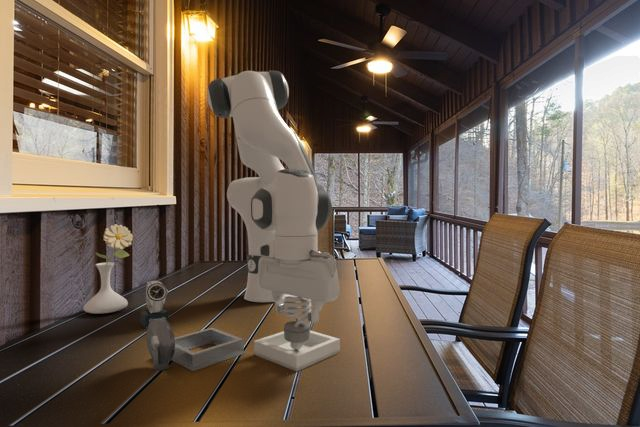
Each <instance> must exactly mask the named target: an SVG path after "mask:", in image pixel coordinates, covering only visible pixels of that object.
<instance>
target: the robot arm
mask: <svg viewBox="0 0 640 427" xmlns="http://www.w3.org/2000/svg"><path fill="white" fill-rule="evenodd" d="M289 93H290V89H289V84H288V81H287V80H286V78H285V75H284V74H283V73H282V72H281V71H280V70H279V71H278V70H270V69H269V70H268V71H254V70H245V71H242V72H239V73H238V74H236V75H230V76H226V77H224V78H222V77H219V78H216V79H213V80H212V81H210V83H209V84H208V88H207V93H206V99H207V103H208V105H209V106H208V107H209V108H210V109H211V111H212V112H213V114H214V115H215V116H216V117H218V118H222V119H229V118H232V120H233V126H234V132H235V137H236V143H237V144H236V145H237V148H238V153H239V158H240V161H241V162H242V164H243V165H244V166H246V167H247V168H249V169H251V170H253V171H254V173H256V174H257V175H258V176H256V177H255V176H253V177H252V176H251V177H250V176H249V177H244V178H243V177H241V178H238V179H234V180H232V181H231V182H230V183H229V185H228V187H227V191H226V198H227V201H228V203H229V205H230V207H231V208H232V209H234V210H235V211H236V212H237V213H238V214H239V215H240V217H241V219H242V220H243V222H244V224H245V228H246V231H247V233H246V234H247V244H248V254H247V256H246V257H247V258H246V259H247V260H246V262H247V266H246V267H247V271H248V272H247V274H248V275H247V282H246V288H245V293H244V296H243V299H244V300H246V301H247V302H248V301H249V302H252V303H253V302H254V303H274V305H275V312H276V313H277V314H285V313H286V312H284V308H286V307H285V306H284V303H285V302H288V301H285V297H289V296H292V297H302V298H304V299H311V306H312V308H311V312H308V320H307V321H308V322H311V323H317V322H319V320H320V312H321V311H322V309H323V307H324V304H325V303H331V302H333V301H336V300H337V299H338V297H339V295H340V284H339V276H338V270H337V261H336V259H335V258H334V256H333V255H331V253H330V252H328V251H327V252H326V251H325V252H324V251H323V252H322V251H318V250H319V247H318V246H319V245H318V244H319V239H318V237H319V234H318V233H319V232H318V231H320V230H321V229H322V228H324V227H325V226H326V225H327V223H329V222H328V221H329V220H330V219H331V216H332V214H333V204H332V201H331V198H330V196H329V194H328V192H327V191H326V190H325V188H324V187H323V185H322V184H321V182H320V180H319V178H318V175H317V172H316V171H315V168H314V166H313V165H312V162H311V160H310V158H309V155H308V154H307V151H306V149H305V147H304V144H303V142H302V141H301V138H300V137H299V135H298V134H297V133H296V132H295V131H294V130H293V129H291V128H290V127H289V126H288V124H287V123H286V122H285V120H284V119H283V118H282V116H281V114H280V112H279V110H281V109H282V108H284V107H285V106H286V104H287V103H288V102H289V101H288V100H289V95H290V94H289ZM280 160H281V161H282V162H283V163H284V164H285V165H286V166H287V167H288V168H287V169H286V168H285V167H284V166H283V164H282V163H281V161H280Z"/></svg>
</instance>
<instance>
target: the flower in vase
mask: <svg viewBox="0 0 640 427" xmlns="http://www.w3.org/2000/svg"><path fill="white" fill-rule="evenodd" d="M133 237H134V236H133V233H131V230H129V228H128V227H126V226H123V225H122V224H119V225H118V224H117V223H116V224H114V225H113V224H112V225H110V227H106V228H105V230H104V233H103V239H102V240H103V241H104V242H105V244H106V245H107V246H108V247H109V248H113V251H112V253H111V255H110V256H107V255H106V254H105V255H104V254H101V253H99V252H96V251H95V254H96V256H98V257H99V258H102V259H107V261H106V262H99V263H95V267H96V268H97V269H98V272H99V275H100V283H101V284H100V289H99V291H98V292H97V293H96V294H94V296H92V297H91V298H90V299H89V300H88V301H87V302H86V303H85V304H84V305H83V308H82V309H83V311H84V312H86V313H87V314H88V313H89V314H95V315H96V314H97V315H98V314H102V315H103V314H110V313H115V312H117V311H121V310H124V309H125V308H127V306H128V305H129V302H128V300H127V299H126V298H125V297H123V296H122V295H120V294H119V293H117V292H115V291H114V290H113V289H112V287H111V272H112V269H113V267H114V266H115V262H111V261H110V260H111V259H112V257H113V256H115V257H116V258H118V259H123V258H126V257H129V256H130V254H129V253H128V252H127V251H125V250H124V249H125V248H127V247H130V246H132V241H133ZM116 249H117V251H116Z"/></svg>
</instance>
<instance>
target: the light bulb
mask: <svg viewBox="0 0 640 427" xmlns="http://www.w3.org/2000/svg"><path fill="white" fill-rule="evenodd" d="M285 301H287V302H284V306H285V307H286V308H284V312H285V313H283V315H284V318H286V319H290V320H291V319H292V320H291V321H287V322H285V324H284V326H283V331H284V337H285V340H287V341H289V342H290V343H291V344H290V346H291V348H293V349H294V350H299V349H301V348H302V347H303V342H305V341H307V340H308V339H309V335H310V330H311V325H310V324H309V322H307V321H308V312H311V311H312V308H311V307H312V304H311V299H306V298H302V297H292V296H289V297H285ZM298 313H299V314H298ZM293 319H295V320H293Z"/></svg>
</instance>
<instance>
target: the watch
mask: <svg viewBox="0 0 640 427" xmlns="http://www.w3.org/2000/svg"><path fill="white" fill-rule="evenodd" d="M168 294H169V290H168V289H167V287H166V286H165V285H164V284H163V283H162V281H159V280H150V281H147V282H146V286H145V303H146V307H147V309H148V310H146V311H145V310H144V311H141V312H140V325H141V326H142V327H144V328H145V329H147V328H146V327H148V325H149V323H150V322H151V321H153V320H157V319H161V318H163V319H166V320H167V321H168V322H169V312H168V310H166V309H165V308H163V306H164V304H165V302H166V297H167V295H168Z"/></svg>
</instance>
